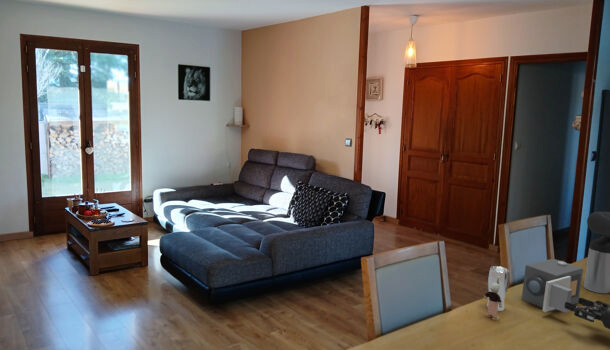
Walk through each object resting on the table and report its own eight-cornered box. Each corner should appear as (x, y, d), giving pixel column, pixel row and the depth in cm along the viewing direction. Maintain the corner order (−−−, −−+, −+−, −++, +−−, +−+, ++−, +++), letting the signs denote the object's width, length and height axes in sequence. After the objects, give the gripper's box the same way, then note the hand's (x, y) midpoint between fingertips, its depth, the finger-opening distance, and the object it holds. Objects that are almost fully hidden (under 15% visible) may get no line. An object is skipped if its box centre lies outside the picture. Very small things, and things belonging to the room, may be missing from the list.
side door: (564, 303, 169) (568, 275, 168) (583, 311, 163) (588, 282, 162) (542, 311, 162) (546, 281, 161) (561, 319, 156) (565, 289, 155)
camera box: (548, 291, 186) (553, 256, 184) (579, 302, 176) (584, 266, 173) (517, 300, 175) (521, 263, 173) (547, 313, 165) (552, 274, 163)
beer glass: (505, 306, 170) (510, 268, 167) (505, 313, 164) (510, 274, 161) (486, 302, 173) (490, 264, 170) (484, 309, 166) (489, 270, 164)
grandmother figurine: (504, 319, 159) (508, 285, 157) (498, 322, 156) (502, 287, 154) (484, 311, 165) (488, 278, 163) (478, 313, 162) (482, 280, 160)
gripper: (637, 306, 145) (584, 288, 159) (614, 315, 138) (561, 295, 152) (633, 328, 146) (582, 308, 160) (610, 338, 139) (558, 316, 153)
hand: (572, 302), depth 156 cm, fingers open, 8 cm apart
